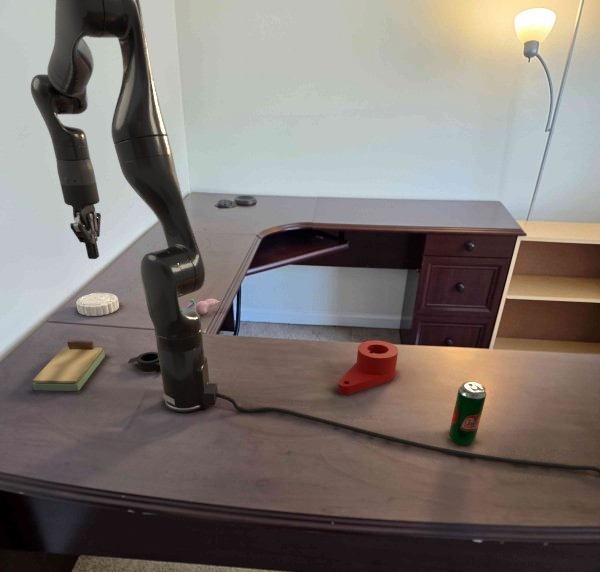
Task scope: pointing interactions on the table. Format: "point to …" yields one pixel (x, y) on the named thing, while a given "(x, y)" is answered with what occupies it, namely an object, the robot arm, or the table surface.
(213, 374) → the table surface
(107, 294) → the mooncake
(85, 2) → the robot arm
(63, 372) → the slide lid
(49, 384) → the sliding lid box
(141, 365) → the black wing nut
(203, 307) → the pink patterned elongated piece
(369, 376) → the lever
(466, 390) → the soda can
